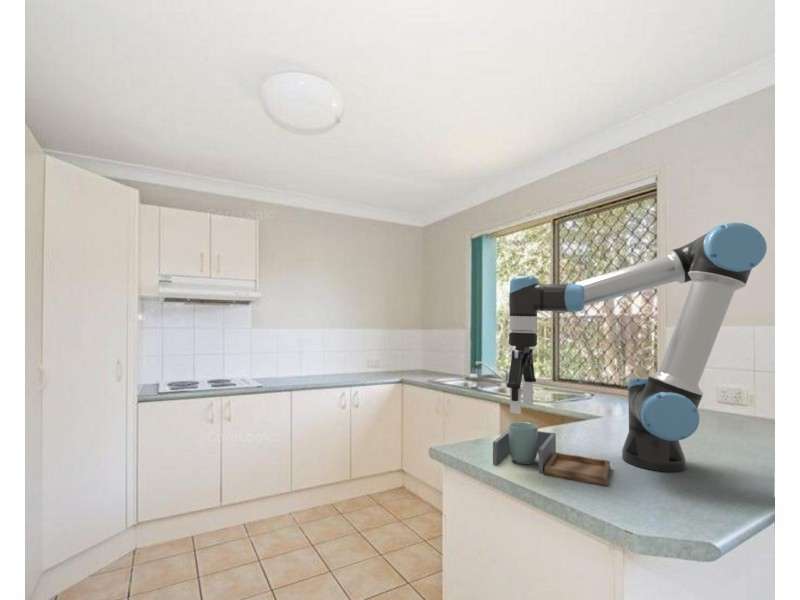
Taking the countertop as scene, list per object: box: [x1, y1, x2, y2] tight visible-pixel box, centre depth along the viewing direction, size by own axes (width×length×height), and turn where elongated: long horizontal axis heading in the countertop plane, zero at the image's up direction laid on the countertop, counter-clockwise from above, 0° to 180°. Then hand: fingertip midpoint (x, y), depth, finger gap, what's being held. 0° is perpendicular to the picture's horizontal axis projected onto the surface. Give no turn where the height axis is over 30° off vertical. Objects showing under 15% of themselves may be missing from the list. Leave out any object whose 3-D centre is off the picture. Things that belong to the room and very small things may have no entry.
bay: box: [492, 428, 557, 475], centre depth 118 cm, size 13×18×6 cm
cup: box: [508, 421, 539, 465], centre depth 115 cm, size 8×8×10 cm
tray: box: [543, 452, 611, 487], centre depth 108 cm, size 14×14×2 cm
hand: (521, 408), depth 116 cm, fingers open, 13 cm apart
